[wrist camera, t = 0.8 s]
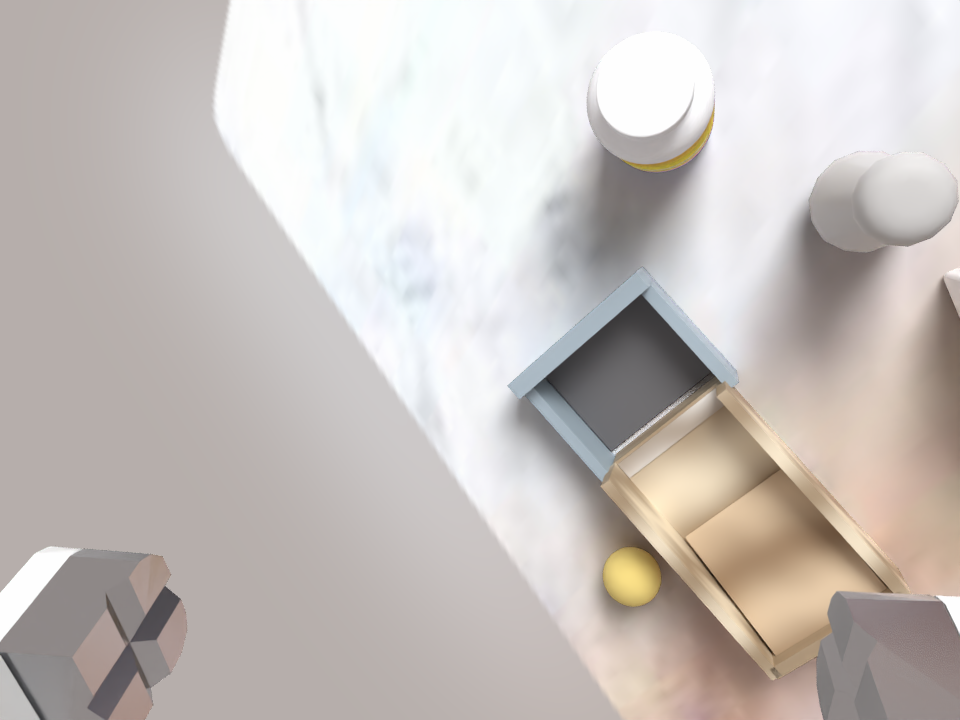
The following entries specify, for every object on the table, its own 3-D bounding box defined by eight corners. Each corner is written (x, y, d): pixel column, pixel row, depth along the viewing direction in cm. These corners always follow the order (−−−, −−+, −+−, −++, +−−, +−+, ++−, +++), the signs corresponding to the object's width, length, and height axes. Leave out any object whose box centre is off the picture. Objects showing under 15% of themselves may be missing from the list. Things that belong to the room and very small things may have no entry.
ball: (674, 569, 53) (672, 597, 50) (631, 599, 55) (626, 628, 51) (637, 527, 54) (631, 551, 50) (595, 557, 55) (587, 583, 51)
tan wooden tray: (890, 553, 49) (914, 598, 43) (766, 631, 52) (773, 682, 47) (723, 369, 50) (726, 389, 44) (611, 457, 53) (600, 486, 48)
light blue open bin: (736, 370, 50) (739, 387, 45) (611, 468, 53) (602, 493, 49) (642, 266, 50) (635, 272, 45) (524, 370, 54) (507, 385, 49)
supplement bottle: (735, 131, 47) (744, 104, 35) (643, 193, 49) (623, 187, 37) (676, 42, 47) (666, -17, 35) (588, 108, 49) (549, 74, 37)
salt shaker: (822, 264, 47) (862, 283, 35) (790, 178, 47) (820, 166, 34) (923, 227, 45) (1003, 233, 33) (890, 137, 45) (959, 110, 32)
